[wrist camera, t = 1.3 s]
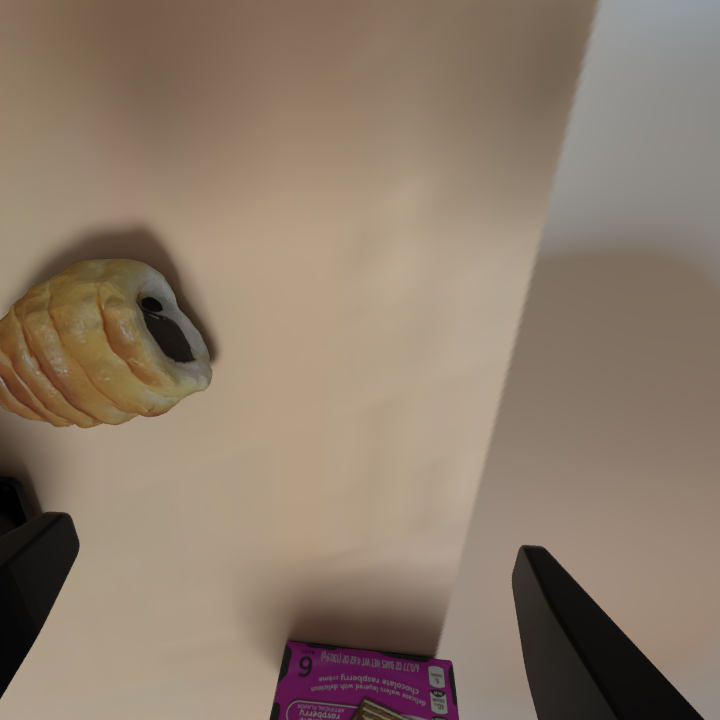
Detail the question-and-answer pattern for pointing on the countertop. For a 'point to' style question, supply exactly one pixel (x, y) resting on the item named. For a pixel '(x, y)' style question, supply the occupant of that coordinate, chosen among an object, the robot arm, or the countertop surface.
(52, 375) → the pastry
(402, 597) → the countertop surface
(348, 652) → the candy bar box
